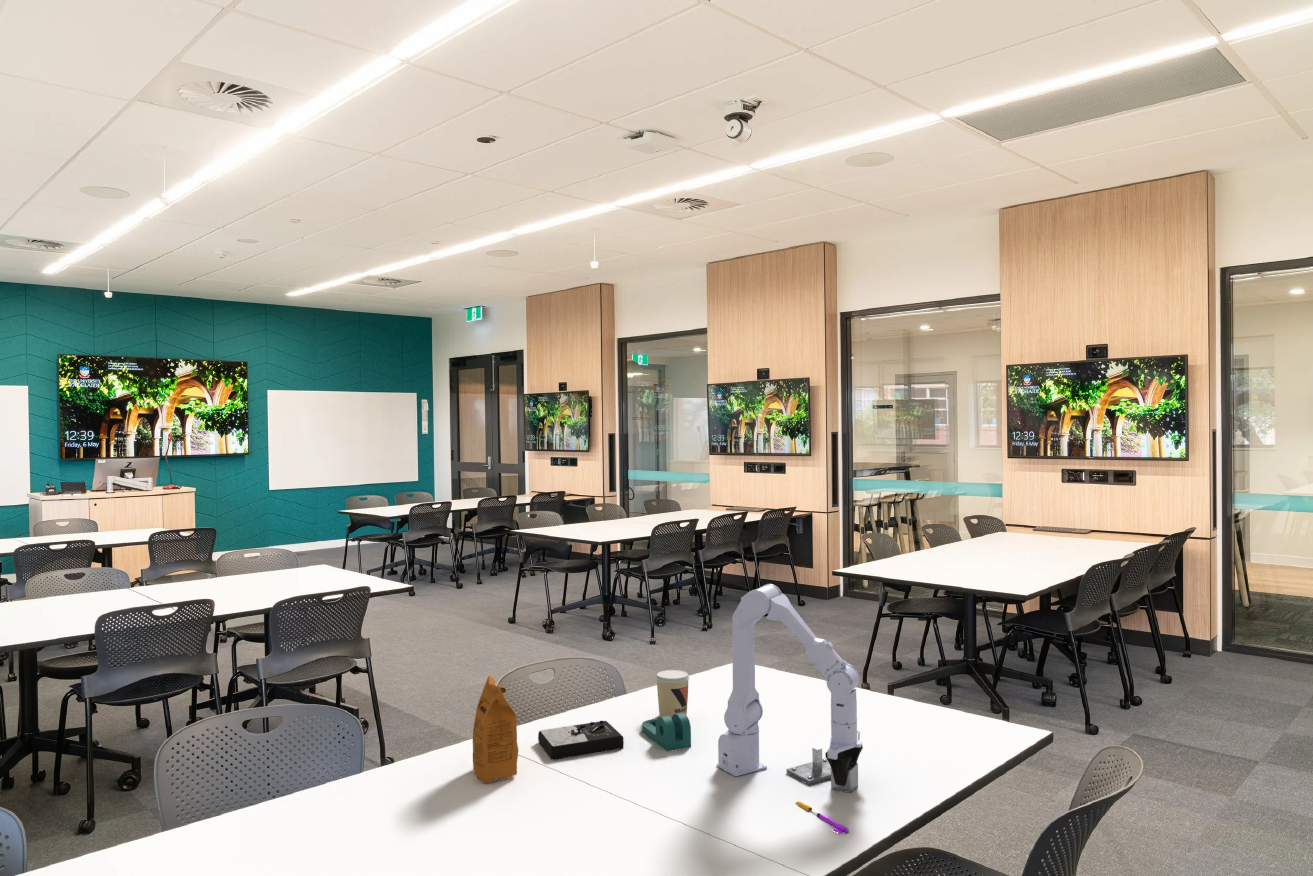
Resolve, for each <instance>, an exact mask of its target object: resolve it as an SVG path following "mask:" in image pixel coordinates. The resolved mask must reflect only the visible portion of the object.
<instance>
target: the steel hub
mask: <svg viewBox="0 0 1313 876" xmlns="http://www.w3.org/2000/svg"><path fill="white" fill-rule="evenodd" d="M858 786H859V763H858V762H857V763H853V762H850V763H849V766H848V770H847V779H846V784H845V786H840V785H836V784H835V781H834V777H833V773H832V769H831V779H830V789H833V790H838V791H842V792H845V793H848V794H851V793H853V791H855V789H857V787H858Z"/></svg>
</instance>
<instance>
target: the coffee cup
mask: <svg viewBox="0 0 1313 876" xmlns="http://www.w3.org/2000/svg"><path fill="white" fill-rule="evenodd" d="M655 677H656V678H655V679H656V689H657V704H658V712H659V713H658V714H659V717H660V716H666V715H668V716H670V717H671V719H672V716H673V715H674V714H678V713H685V714H686V715H687V716H688V714H687V713H688V703H689V702H688V699H689V698H688V697H689V696H688V695H689V680H690V676H689V673H688V672H687V671H684V670H679V669H667V670H662V671H659V672H657V675H656V676H655Z"/></svg>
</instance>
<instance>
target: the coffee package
mask: <svg viewBox="0 0 1313 876" xmlns="http://www.w3.org/2000/svg"><path fill="white" fill-rule="evenodd" d="M505 693H507V688H506V687H504V686H500V685H496V678H494V677H493V676H492V675H489V676H487V679H486V681H485V684H484V687H483V689H482V692H481V695H480V697H479V699H478V703H477V705H476V710H475V711H476V712H475V714H474V715H475V717H474V723H473V729H472V765H473V766H472V767H473V768H472V769H473V772H474V774H475V777H476V779H478V780H480V781H481V782H482V783H483V784H489V783H492V782H495V781H496V780H500V779H506V778H507V779H508V778H512V777H513V776H516V775H518V770H517V769H518V757H519V746H518V731H517V728H518V727H517V715H516V713H515V711H514V709H513V708H512V706H511V705H510V703H508V701H507V700H506V697H505V696H504V694H505Z"/></svg>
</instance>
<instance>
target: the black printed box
mask: <svg viewBox="0 0 1313 876" xmlns="http://www.w3.org/2000/svg"><path fill="white" fill-rule="evenodd" d="M537 738H538V739H537V740H538V745H539V746H540V747H541V749H542V750H543V751H544V752H545V754H547V756H548V757H549V759H550V760H551V761H556V760H563V759H568V758H574V757H580V756H581V757H582V756H585V755H592V754H597V753H604V752H611V751H617V750H622V749H624V744H625V743H624V736H623V735H622V734H621V733H620V732H619V731H618V730H617V729H616V728H615V727H614V726H612V724H611V723H609V722H608V721H607V720H600V721H591V722H587V723H581V724H574V725H566V726H560V727H554V728H552V727H551V728H547V729H546V728H545V729H540V730H539V731H538V734H537Z"/></svg>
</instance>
